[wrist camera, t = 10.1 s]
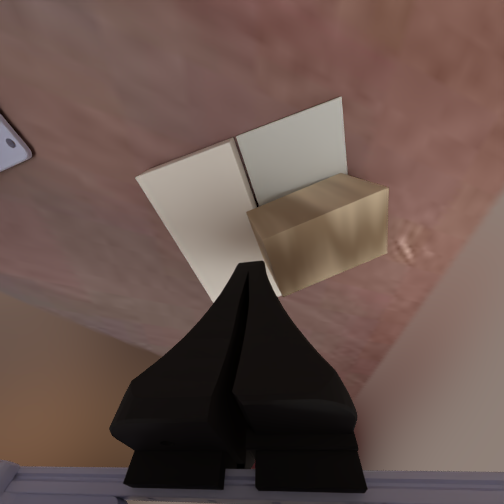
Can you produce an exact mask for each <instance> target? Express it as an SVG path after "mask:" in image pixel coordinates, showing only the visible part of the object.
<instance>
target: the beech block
mask: <svg viewBox="0 0 504 504" xmlns="http://www.w3.org/2000/svg"><path fill="white" fill-rule="evenodd" d="M388 193H389V187H386V186H382V185H379V184H376V183H372V182H369V181H366V180H362V179H359V178H356V177H352V176H349V175H346V174H343V173H339V174H337V175H334V176H332V177H330V178H327V179H325V180H322V181H320V182H318V183H315V184H313V185H310V186H308V187H305V188H303V189H301V190H298V191H296V192H293V193H291V194H289V195H286V196H284V197H281V198H279V199H276V200H274V201H272V202H269V203H267V204H264V205H262V206H260V207H257V208H255V209H252V210H250V211H247V212H246V214H247V216H248V219H249V222H250V224H251V227H252V230H253V232H254V235H255V238H256V240H257V243H258V246H259V248H260V251H261V254H262V256H263V259H264V261H265V263H266V265H267V267H268V269H269V271H270V273H271V275H272V277H273V279H274V281H275V283H276V285H277V287H278V289H279V291H280V293H281V295H282V296H283V297H285V296H287V295H289V294H292V293H294V292H296V291H299V290H301V289H304V288H306V287H308V286H311V285H313V284H315V283H318V282H320V281H323V280H325V279H327V278H330V277H332V276H334V275H337V274H339V273H341V272H344V271H346V270H349V269H351V268H353V267H356V266H358V265H360V264H363V263H365V262H368V261H370V260H372V259H375V258H377V257H379V256H382V255H384V254H387V234H388Z"/></svg>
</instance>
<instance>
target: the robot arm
mask: <svg viewBox="0 0 504 504" xmlns="http://www.w3.org/2000/svg"><path fill="white" fill-rule="evenodd" d="M12 140H13V141H14V143H15V144H16V145H15V144H14V143H13V142H12ZM31 157H32V152H31V150H30V149H29V147H28V146H27V145H26V144H25V143H24V141H23V140H22V139H21V138H20V137H19V135H18V134H17V133H16V132H15V131H14V129H13V128H12V127H11V126H10V125H9V123H8V122H7V121H6V120H5V119H4V117H3V116H2V115H1V114H0V172H2V171H4V170H6V169H8V168H11V167H13V166H15V165H17V164H19V163H22V162H24V161H26V160H28V159H30V158H31ZM356 421H357V412H356V409H355V407H354V404H353V402H352V399H351V397H350V395H349V393H348V391H347V389H346V388H345V386H344V384H343V382H342V381H341V379H340V377H339V376H338V374H337V372H336V371H335V370H334V368H333V367H332V366H331V365H330V364H329V363H328V362H327V361H326V360H325V359H324V358H323V357H322V356H321V355H320V354H319V353H318V352H317V351H316V350H315V348H314V347H313V346H312V345H311V344H310V343H309V342H308V340H307V339H306V338H305V337H304V335H303V334H302V333H301V332H300V330H299V329H298V328H297V327H296V325H295V324H294V323H293V321H292V320H291V318H290V317H289V316H288V314H287V313H286V311H285V310H284V308H283V306H282V305H281V303H280V301H279V299H278V298H277V296H276V294H275V292H274V290H273V288H272V286H271V284H270V281H269V279H268V276H267V273H266V268H265V262H264V261H262V260H261V261H252V262H243V263H238V265H237V266H236V268H235V270H234V272H233V274H232V276H231V277H230V279H229V281H228V282H227V284H226V286H225V287H224V289H223V290H222V292H221V293H220V295H219V296H218V298H217V299H216V300H215V302H214V303H213V305H212V306H211V307H210V309H209V310H208V311H207V312H206V314H205V315H204V316H203V317H202V318H201V320H200V321H199V322H198V323H197V324H196V325H195V326H194V327H193V328H192V329H191V330H190V332H189V333H188V334H187V335H186V336H185V337H184V338H183V339H182V340H181V341H180V342H178V343H177V344H176V345H175V346H174V347H173V348H172V349H171V350H170V351H168V352H167V353H166V354H165V355H164V356H163V357H162V358H160V359H159V360H158V361H157V362H156V363H154V364H153V365H152V366H150V367H149V368H148V369H146V370H145V371H144V372H143V373H141V374H140V375H139V376H138V377H136V378H135V379H133V380H132V381H131V384H130V385H129V387H128V389H127V391H126V393H125V395H124V397H123V399H122V401H121V404H120V406H119V408H118V410H117V412H116V415H115V417H114V419H113V421H112V423H111V425H110V428H109V429H110V432H111V434H112V436H113V437H115V438H116V439H117V440H119V441H121V442H122V443H124V444H125V445H127V446H129V447H130V448H132V449H133V450H135V451H134V454H133V457H132V460H131V463H130V465H129V468H113V467H112V468H111V467H107V468H106V467H27V466H24V467H23V466H22V467H20V466H19V465H18V464H16V463H13V462H10V461H5V460H0V504H128V503H127V501H126V500H134V501H135V500H136V501H137V500H138V501H166V502H167V501H168V502H197V503H229V504H504V472H459V471H458V472H457V471H456V472H455V471H453V472H452V471H373V470H366V471H365V470H362V466H361V463H360V459H359V456H358V452H357V451H358V445H357V441H356V438H355V434H354V428H355V425H356ZM255 462H256V463H255ZM254 463H255V469H251V467H252V466H253V464H254Z"/></svg>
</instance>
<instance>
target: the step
mask: <svg viewBox="0 0 504 504" xmlns="http://www.w3.org/2000/svg"><path fill="white" fill-rule="evenodd" d="M135 178H136V180H137V181H138V183H139V185H140V186H141V188H142V189H143V191H144V193H145V194H146V196H147V197H148V199H149V201H150V202H151V204H152V205H153V207H154V209H155V210H156V212H157V213H158V215H159V217H160V218H161V220H162V221H163V223H164V225H165V226H166V228H167V229H168V231H169V233H170V234H171V236H172V237H173V239H174V240H175V242H176V244H177V245H178V247H179V248H180V250H181V252H182V253H183V255H184V256H185V258H186V260H187V261H188V263H189V264H190V266H191V268H192V269H193V271H194V272H195V274H196V276H197V277H198V279H199V280H200V282H201V284H202V285H203V287H204V288H205V290H206V292H207V293H208V295H209V296H210V298H211V300H212V301H213V303H214V302H215V300H216V299H217V298H218V296H219V295H220V293H221V292H222V290H223V289H224V287H225V286H226V284H227V282H228V281H229V279H230V277H231V276H232V274H233V272H234V270H235V268H236V266H237V265H238V263H243V262H252V261H261V260H262V261H264V259H263V256H262V254H261V251H260V248H259V246H258V243H257V240H256V238H255V235H254V232H253V230H252V227H251V224H250V222H249V219H248V216H247V214H246V212H247V211H250V210H252V209H255V208H257V205H256V202H255V199H254V196H253V193H252V190H251V187H250V184H249V181H248V178H247V176H246V173H245V170H244V167H243V164H242V161H241V158H240V155H239V152H238V149H237V146H236V143H235V140H234V137H232V138H230V139H227V140H224V141H222V142H219V143H217V144H214V145H211V146H209V147H206V148H203V149H201V150H198V151H195V152H193V153H190V154H188V155H185V156H182V157H180V158H177V159H174V160H172V161H169V162H166V163H164V164H161V165H159V166H156V167H153V168H151V169H149V170H147V171H145V172H143V173H142V174H140V175H138V176H137V177H135ZM264 262H265V261H264ZM265 268H266V273H267V276H268V279H269V281H270V284H271V286H272V288H273V290H274V292H275V294H276V296H277V297H278V296H282V295H281V293H280V291H279V289H278V287H277V285H276V283H275V281H274V279H273V277H272V275H271V273H270V271H269V269H268V267H267V265H266V263H265Z"/></svg>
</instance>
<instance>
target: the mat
mask: <svg viewBox="0 0 504 504" xmlns="http://www.w3.org/2000/svg"><path fill="white" fill-rule="evenodd" d="M236 138H237V141H238V144H239V147H240V150H241V154H242V157H243V160H244V163H245V166H246V169H247V172H248V175H249V178H250V181H251V184H252V187H253V190H254V193H255V196H256V199H257V202H258V205H259V207H260V206H262V205H264V204H267V203H269V202H272V201H274V200H276V199H279V198H281V197H284V196H286V195H289V194H291V193H293V192H296V191H298V190H301V189H303V188H305V187H308V186H310V185H313V184H315V183H318V182H320V181H322V180H325V179H327V178H330V177H332V176H334V175H337V174H339V173H343V174H346V175H348V173H347V161H346V148H345V135H344V123H343V110H342V97H338V98H335V99H333V100H330V101H327V102H325V103H322V104H319V105H317V106H314V107H311V108H309V109H306V110H304V111H301V112H298V113H296V114H293V115H290V116H288V117H285V118H282V119H280V120H277V121H275V122H272V123H269V124H267V125H264V126H261V127H259V128H256V129H253V130H251V131H248V132H246V133H243V134H240V135H238V136H236Z"/></svg>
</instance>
